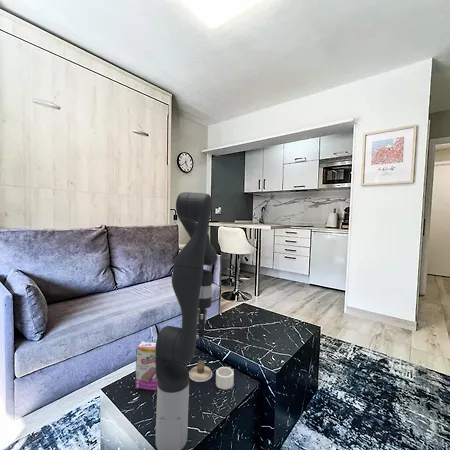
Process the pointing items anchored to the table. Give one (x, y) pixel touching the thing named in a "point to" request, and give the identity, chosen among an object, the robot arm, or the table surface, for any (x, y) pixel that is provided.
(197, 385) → the table surface
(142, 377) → the candy bar box
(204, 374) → the lid
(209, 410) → the table surface
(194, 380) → the white round disc
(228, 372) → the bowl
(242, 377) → the table surface
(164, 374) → the robot arm
